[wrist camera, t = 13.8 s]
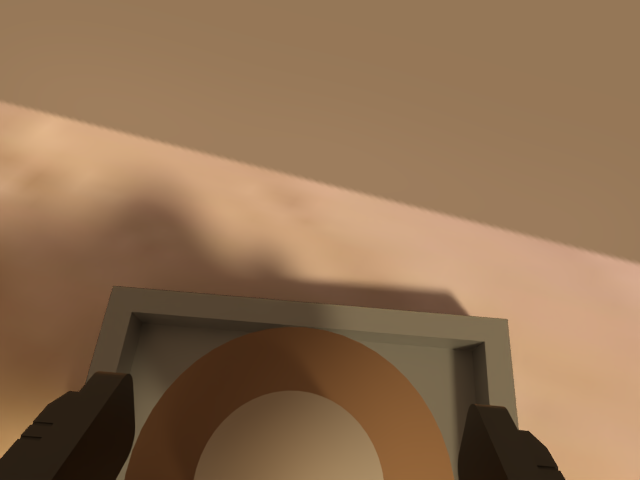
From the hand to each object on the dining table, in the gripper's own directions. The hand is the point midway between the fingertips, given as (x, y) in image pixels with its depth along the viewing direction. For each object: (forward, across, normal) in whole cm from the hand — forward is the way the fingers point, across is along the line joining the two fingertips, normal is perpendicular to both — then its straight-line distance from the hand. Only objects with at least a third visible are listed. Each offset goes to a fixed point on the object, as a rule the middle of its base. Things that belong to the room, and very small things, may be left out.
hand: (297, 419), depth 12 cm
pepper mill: (+5, 0, +7) cm, 8 cm away
